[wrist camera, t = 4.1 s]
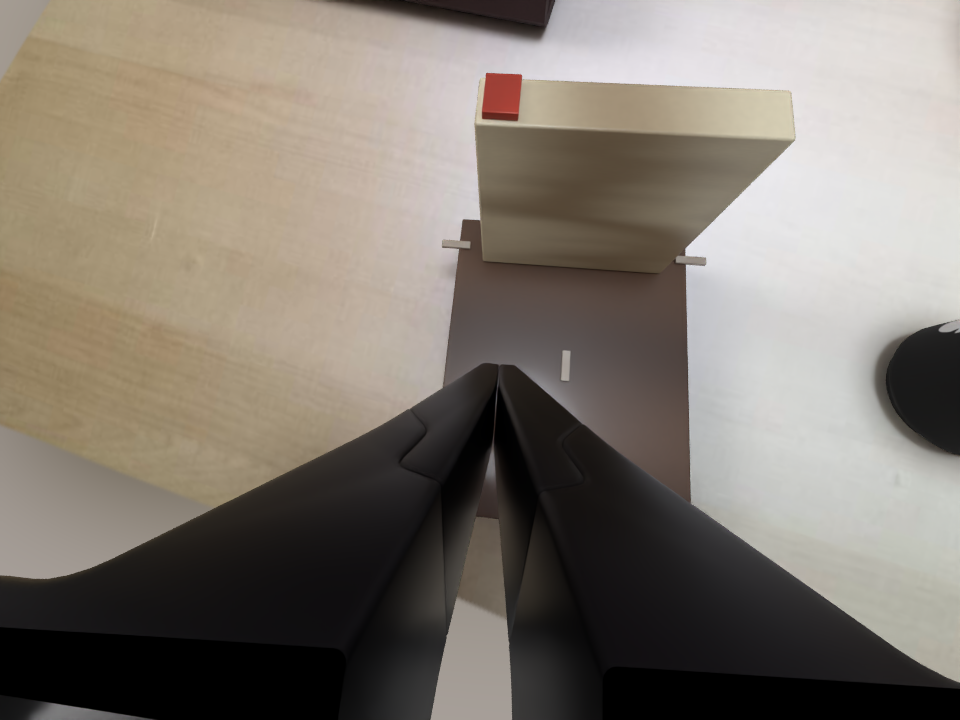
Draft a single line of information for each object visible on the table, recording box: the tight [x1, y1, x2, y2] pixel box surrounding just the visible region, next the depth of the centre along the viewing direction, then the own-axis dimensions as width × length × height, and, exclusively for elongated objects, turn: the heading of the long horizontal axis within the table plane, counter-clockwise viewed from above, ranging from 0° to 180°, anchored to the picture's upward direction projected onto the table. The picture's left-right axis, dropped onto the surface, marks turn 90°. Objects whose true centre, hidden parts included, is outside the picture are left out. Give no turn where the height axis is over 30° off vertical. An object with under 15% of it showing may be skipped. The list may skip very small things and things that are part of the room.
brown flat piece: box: [442, 219, 706, 519], centre depth 18 cm, size 19×13×3 cm
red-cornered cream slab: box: [475, 73, 795, 274], centre depth 14 cm, size 8×2×8 cm, turn 85°
